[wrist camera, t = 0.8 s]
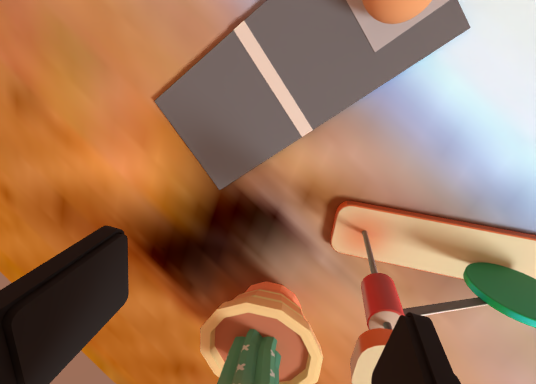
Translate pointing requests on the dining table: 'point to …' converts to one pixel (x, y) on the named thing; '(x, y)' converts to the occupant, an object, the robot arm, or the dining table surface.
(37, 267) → the robot arm
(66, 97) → the dining table surface
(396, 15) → the ball
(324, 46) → the mat
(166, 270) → the dining table surface
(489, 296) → the crank mechanism
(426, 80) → the dining table surface
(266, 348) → the potted cactus
